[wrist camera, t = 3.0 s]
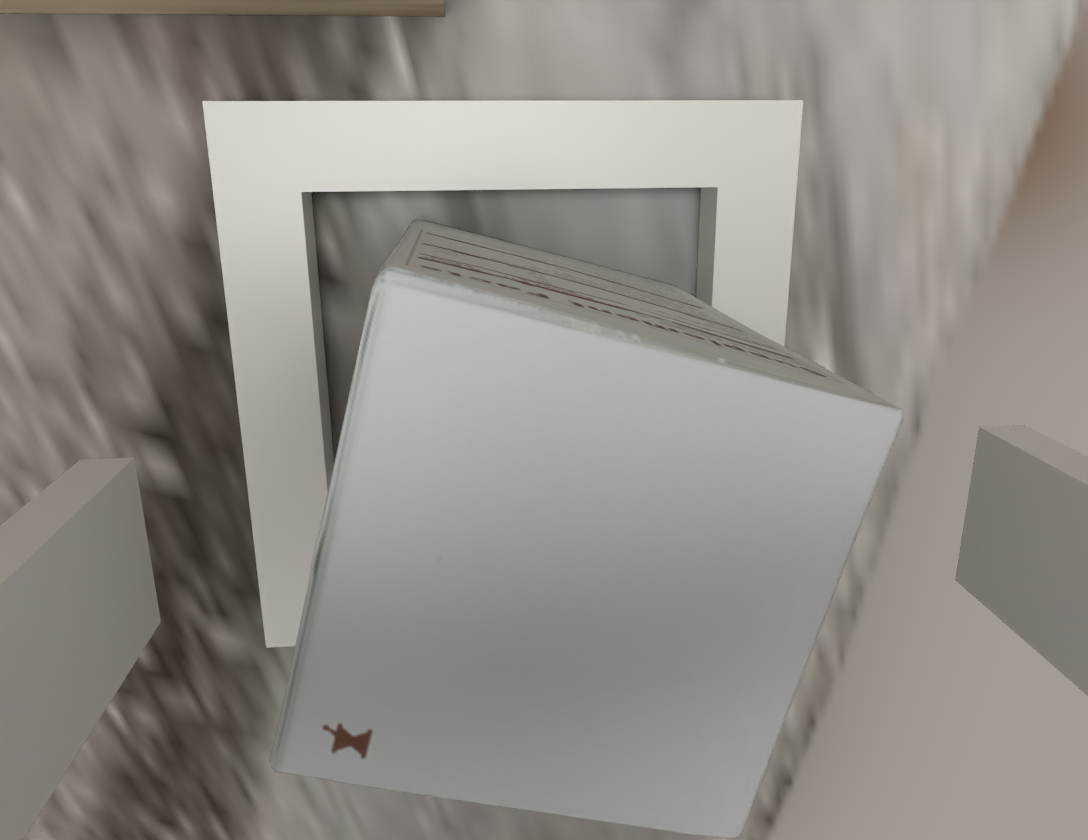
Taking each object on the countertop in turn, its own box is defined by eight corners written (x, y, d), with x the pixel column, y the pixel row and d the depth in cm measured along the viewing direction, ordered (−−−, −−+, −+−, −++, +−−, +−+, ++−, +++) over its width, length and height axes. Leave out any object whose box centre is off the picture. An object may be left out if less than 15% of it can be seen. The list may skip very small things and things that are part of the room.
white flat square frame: (747, 592, 26) (764, 617, 25) (276, 619, 25) (265, 647, 23) (780, 103, 22) (803, 100, 21) (219, 105, 21) (202, 101, 19)
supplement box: (602, 526, 25) (741, 864, 13) (349, 469, 24) (245, 787, 12) (681, 280, 23) (928, 412, 11) (412, 205, 22) (363, 261, 10)
